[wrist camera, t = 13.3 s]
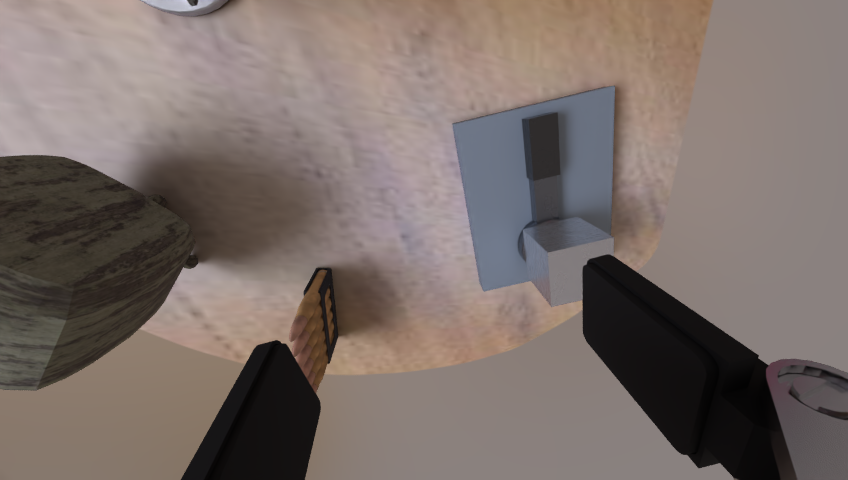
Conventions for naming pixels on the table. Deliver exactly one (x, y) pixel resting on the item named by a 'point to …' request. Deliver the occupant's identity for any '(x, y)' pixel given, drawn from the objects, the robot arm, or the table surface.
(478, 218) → the slate board
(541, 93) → the table surface
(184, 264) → the tabletop clock
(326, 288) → the ammunition clip
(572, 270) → the matte grey cube
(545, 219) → the ratchet
